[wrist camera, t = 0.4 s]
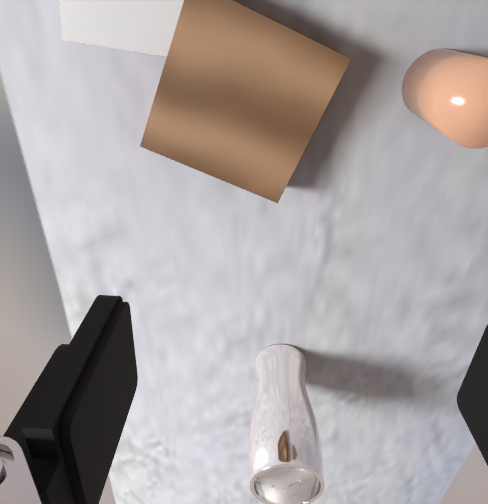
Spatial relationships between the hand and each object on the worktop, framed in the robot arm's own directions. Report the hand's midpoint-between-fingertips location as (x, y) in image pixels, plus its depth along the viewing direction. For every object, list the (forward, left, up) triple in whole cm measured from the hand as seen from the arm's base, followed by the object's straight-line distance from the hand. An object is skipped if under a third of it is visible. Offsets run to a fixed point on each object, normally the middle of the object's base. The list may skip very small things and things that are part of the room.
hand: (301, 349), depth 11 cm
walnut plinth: (0, -3, -28) cm, 28 cm away
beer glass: (+26, +13, -28) cm, 40 cm away
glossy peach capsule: (-7, +11, -28) cm, 31 cm away
